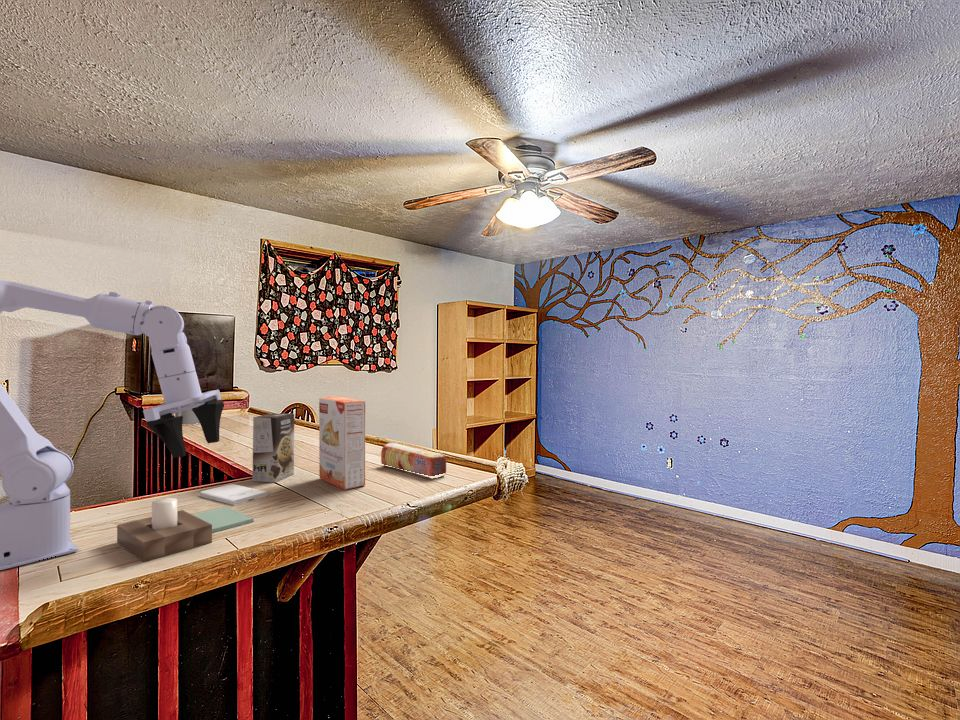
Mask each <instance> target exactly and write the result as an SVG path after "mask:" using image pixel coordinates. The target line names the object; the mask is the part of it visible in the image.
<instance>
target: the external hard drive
mask: <svg viewBox="0 0 960 720" xmlns="http://www.w3.org/2000/svg"><path fill="white" fill-rule="evenodd" d="M267 496H268V491H264V490H261V489H260V490H259V489H255V488H251V487H248V486H243V485H239V484H235V483H229V484H227V485H221V486H218V487H213V488H209V489H205V490H202V491H199V497H202V498H205V499H208V500H212V501H216V502H220V503H224V504H227V505H231V506H237V505H240V504H243V503H247V502H249V501H253V500H258V499H261V498H265V497H267Z"/></svg>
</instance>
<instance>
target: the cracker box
mask: <svg viewBox="0 0 960 720" xmlns="http://www.w3.org/2000/svg"><path fill="white" fill-rule="evenodd" d="M318 398H319V399H318V401H319V408H318V409H319V410H318V411H319V413H318V415H319V416H318V417H319V420H318V422H319V423H318V425H319V427H318V430H319V433H318V435H319V436H318V438H319V439H318V441H319V442H318V443H319V444H318V447H319V448H318V449H319V451H318V452H319V453H318V454H319V456H318V458H319V459H318V460H319V462H318V463H319V464H318V465H319V471H318V472H319V475H318V476H319V479H321V480H323V481H325V482H327V483H329V484H331V485H333V486H335V487H336V488H339V489H340V490H343V491H346V490H347V489H348V490H352V489H357V488H360V487H359V486H362V487H365V486H366V401H365V400H361V399H357V398H356V399H355V398H349V397H344V396H340V395H338V396H323V397H318ZM364 485H365V486H364ZM356 487H357V488H356ZM348 490H347V491H348Z"/></svg>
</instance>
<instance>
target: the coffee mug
mask: <svg viewBox="0 0 960 720" xmlns="http://www.w3.org/2000/svg"><path fill="white" fill-rule="evenodd" d="M193 404H196V403H192V404H187V405H183V406H180V407H181V408H183V407H186V406H190V405H193ZM197 407H198V406H197ZM194 408H195V407H194ZM179 409H180V408H179ZM175 410H177V409H175ZM172 416H175V417H178V416H183V422H182V424H196V423H200V422H199V420H198V418H197V417H196V415H195V414H194V412H193V411H192V408H190V409H187V410H184V411H181V412H178V413H175V414H172ZM196 425H197V424H196Z"/></svg>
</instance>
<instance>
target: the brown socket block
mask: <svg viewBox="0 0 960 720" xmlns="http://www.w3.org/2000/svg"><path fill="white" fill-rule="evenodd" d="M193 515H194V514H192V513H189V512H187V511H185V510H183V509H181V510H177V526H174V527H170V528H166V529H162V530H158V531H154V530H153V529H152V516H150V517H146V518H145V517H144V518H142V519H137V520H132V521H128V522H124V523H119V524H117V525H116V527H117V528H116V529H117V530H116V539H117V540H116V543H117V544H118V545H120V546H121V547H122V548H123V549H124V550H126V551H127V552H129V553H131V554H132V555H133V556H135V557H136V558H137V559H139V560H140V561H141V562H143V563H144V562H145V563H146V562H149V561H151V560H155V559H158V558H162V557H165V556H168V555H169V556H170V555H173V554H176V553H180V552H183V551H184V552H185V551H187V550H191V549H194V548H197V547H200V546H203V545H207V544H211V543H212V542H213V533H212V524H210V523H208V522H206V521H204V520H202V519H200V518H197V517H195V516H193Z"/></svg>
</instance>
